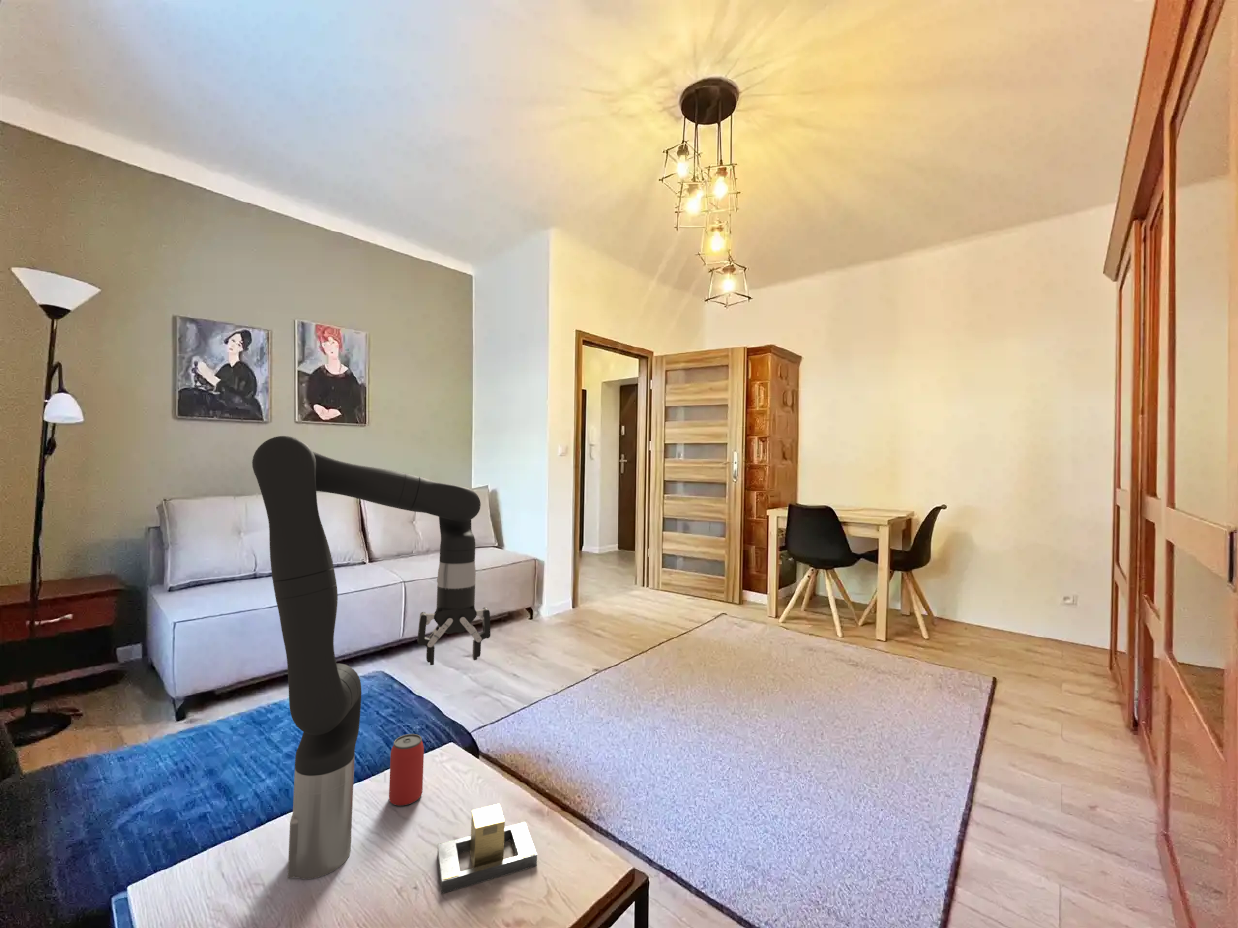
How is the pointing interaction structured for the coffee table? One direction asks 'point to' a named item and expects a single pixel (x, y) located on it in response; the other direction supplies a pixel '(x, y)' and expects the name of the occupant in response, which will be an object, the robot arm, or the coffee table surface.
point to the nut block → (487, 835)
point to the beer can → (406, 770)
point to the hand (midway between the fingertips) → (453, 661)
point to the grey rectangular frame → (456, 879)
